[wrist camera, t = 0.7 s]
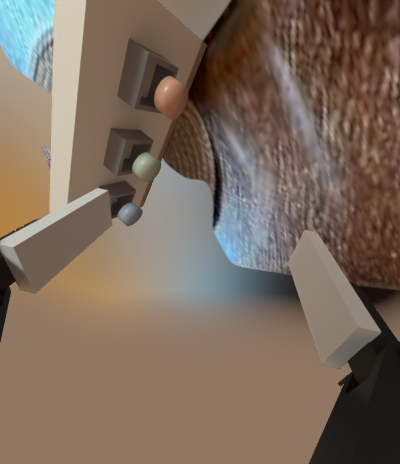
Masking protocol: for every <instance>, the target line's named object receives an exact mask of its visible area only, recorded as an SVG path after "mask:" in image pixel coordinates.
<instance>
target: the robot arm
mask: <svg viewBox="0 0 400 464" xmlns="http://www.w3.org/2000/svg"><path fill="white" fill-rule="evenodd" d="M111 226H112V218H111V210H110V202H109V193H108V190H104V189H99V188H97V189H95V190H93V191H91V192H89V193H88V194H86V195H84V196H82V197H80V198H78V199H76V200H75V201H73V202H71V203H69V204H67V205H65V206H63V207H62V208H60V209H58V210H56V211H54V212H52V213H50V214H49V215H47V216H45V217H43V218H40V219H36V220H34V221H32V222H30V223H28V224H26V225H24V227H20V228H18V229H16V231H12V232H11V233H9V234H7V235H5V236H3V237H1V238H0V341H1V337H2V332H3V327H4V323H5V318H6V313H7V309H8V304H9V299H10V294H11V290H10V287H9V286H10V285H11V284H12V283H14V282H15V281H16V283H17V285H18V287H19V289H20V290H22V291H26V292H30V293H34V294H35V293H37V292H38V291H39V290H40V289H41V288H42V287H43V286H45V285H46V284H47V283H48V282H49V281H50V280H51V279H52V278H54V277H55V276H56V275H57V274H58V273H59V272H60V271H61V270H62V269H64V268H65V267H66V266H67V265H68V264H69V263H70V262H71V261H73V260H74V259H75V258H76V257H77V256H78V255H79V254H80V253H81V252H83V251H84V250H85V249H86V248H87V247H88V246H89V245H90V244H92V243H93V242H94V241H95V240H96V239H97V238H98V237H99V236H101V235H102V234H103V233H104V232H105V231H106V230H107V229H108V228H110V227H111ZM288 264H289V267H290V270H291V273H292V276H293V280H294V283H295V286H296V289H297V291H298V295H299V298H300V301H301V304H302V307H303V310H304V313H305V316H306V319H307V322H308V325H309V329H310V331H311V335H312V338H313V341H314V344H315V347H316V350H317V353H318V356H319V359H320V362H321V364H322V365H326V366H330V367H334V368H338V369H340V368H341V367H342V366H344V365H345V364H346V363H347V362H348V363H349V365H350V368H351V370H352V372H351V373H350V374H349V375H347V376H346V377H345V378H344V379H342V380H341V381H340V382H339V383H338V384H339V385H340V386H342V385H343V384H344V385H343V387H342V390H341V392H340V394H339V396H338V399H337V401H336V403H335V405H334V408H333V410H332V412H331V415H330V417H329V419H328V421H327V424H326V426H325V428H324V430H323V433H322V435H321V437H320V439H319V442H318V444H317V447H316V449H315V451H314V453H313V455H312V458H311V460H310V462H309V464H400V342H399V341H398V340H397V339H396V337H395V336H394V334H393V333H392V332H391V330H390V329H389V328H388V326H387V324H386V323H385V322H384V320H383V319H382V317H381V316H380V315H379V313H378V312H377V311H376V309H375V307H374V306H373V304H372V303H370V300H369V298H368V297H367V296H366V294H365V293H364V292H363V291H362V290H361V289H360V288H359V287H358V286H357V285H356V284H355V283H351V282H349V281H348V280H347V278H346V277H345V275H344V274H343V272H342V270H341V269H340V267H339V266H338V264H337V263H336V261H335V260H334V258H333V257H332V255H331V253H330V252H329V250H328V249H327V247H326V246H325V244H324V243H323V241H322V240H321V238H320V236H319V235H318V233H317V232H312V231H307V230H304V232H303V234H302V236H301V238H300V240H299V242H298V244H297V246H296V248H295V250H294V252H293V254H292V256H291V258H290V260H289V262H288Z"/></svg>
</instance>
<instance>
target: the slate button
mask: <svg viewBox="0 0 400 464" xmlns="http://www.w3.org/2000/svg"><path fill="white" fill-rule="evenodd" d="M141 215H142V210H141V209H140V208H139V207H138V206H137V205H136V204H135V203H133V202H130V203H127V204H126V205H124V206H123V207H122V208H121V209H120V211H119V213H118V218H119V219H120V220H121V221H122V222H123V223H124V224H125V225H126V226H130V225H133V224H134V223H135V222H137V220H139V218H140V217H141Z"/></svg>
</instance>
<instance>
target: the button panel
mask: <svg viewBox="0 0 400 464" xmlns="http://www.w3.org/2000/svg"><path fill="white" fill-rule="evenodd" d="M206 47H207V45H206V44H205V43H204V42H203V41H202V40H201V39H200V38H199V37H198V36H196V35H195V34H194V33H193V32H192V31H191V30H190V29H189V28H187V27H186V26H185V25H184V24H183V23H182V22H181V21H180V20H179V19H177V18H176V17H175V16H174V15H173V14H172V13H170V11H168V10H167V9H166V8H165V7H164V6H163V5H162V4H161V3H160V2H158V1H157V0H55V9H54V49H53V90H52V131H51V172H50V213H52V212H54V211H56V210H58V209H60V208H62V207H63V206H65V205H67V204H69V203H71V202H73V201H75V200H76V199H78V198H80V197H82V196H84V195H86V194H88V193H89V192H91V191H93V190H95V189H97V188H99V189H104V190H108V193H109V202H110V210H111V218H112V219H113V218H116V217H118V213H119V211H120V209H121V208H122V207H123V206H124V205H126V204H127V203H130V202H133V203H135V204H136V205H137V206H138V207H139V208H140V207H142V206H143V205H144V203H145V200H146V198H147V195H148V192H149V190H150V187H151V185H152V182H153V180H154V179H153V180H151V181H150V182H143V181H142V180H141V179H140V178H139V177H137V176H136V175H135V174H134V173H133V171H132V167H133V164H134V162H135V160H136V159H137V157H138V156H139V155H141V154H142V153H145V152H149V153H150V154H152V155H153V156H154V157H155V158H156V159H158V160H159V161H160V162H161V160H162V157H163V155H164V152H165V150H166V147H167V145H168V142H169V140H170V137H171V135H172V132H173V130H174V127H175V125H176V122H177V120H178V118H176V119H173V120H171V119H169V118H168V117H166V116H165V115H164V114H163V113H161V112H160V111H159V110H157V108H156V107H155V103H154V96H155V92H156V89H157V87H158V85H159V83H160V82H161V81H162V80H163V79H164V78H165V77H168V76H171V77H173V78H175V79H176V80H177V81H179V82H180V83H181V84H183V85H184V86H186V88H187V89H188V92H189V90H190V87H191V85H192V82H193V80H194V77H195V74H196V72H197V69H198V67H199V64H200V62H201V59H202V57H203V54H204V52H205V49H206ZM50 213H49V214H50Z"/></svg>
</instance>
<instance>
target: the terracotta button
mask: <svg viewBox="0 0 400 464" xmlns="http://www.w3.org/2000/svg"><path fill="white" fill-rule="evenodd" d="M187 101H188V89H187V88H186V86H184V85H183V84H181V83H180V82H179V81H177V80H176V79H175V78H173V77H171V76H168V77H165V78H164V79H163V80H162V81H161V82H160V83H159V85H158V87H157V89H156V92H155V96H154V103H155V107H156V108H157V110H159V111H160V112H161V113H163V114H164V115H165V116H166V117H168V118H169V119H171V120H173V119H176V118H178V117H179V116H180V115H181V114H182V112H183V111H184V109H185V107H186V104H187Z"/></svg>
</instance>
